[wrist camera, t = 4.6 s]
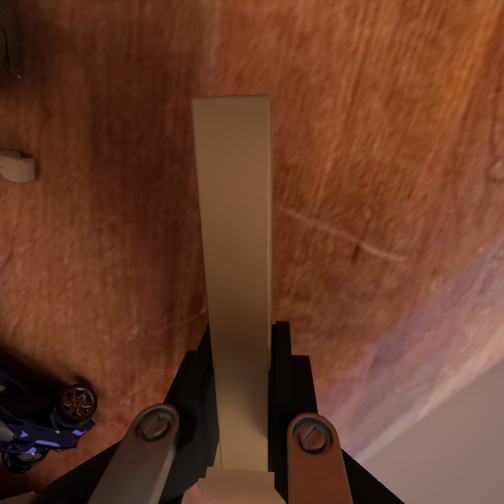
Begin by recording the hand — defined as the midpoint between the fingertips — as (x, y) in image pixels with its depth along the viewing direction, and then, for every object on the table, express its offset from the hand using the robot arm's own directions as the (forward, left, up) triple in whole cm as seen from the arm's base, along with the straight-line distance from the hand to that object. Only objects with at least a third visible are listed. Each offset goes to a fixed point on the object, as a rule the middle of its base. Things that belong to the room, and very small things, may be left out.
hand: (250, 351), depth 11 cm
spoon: (0, 0, 0) cm, 0 cm away
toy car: (+5, -15, -3) cm, 16 cm away
